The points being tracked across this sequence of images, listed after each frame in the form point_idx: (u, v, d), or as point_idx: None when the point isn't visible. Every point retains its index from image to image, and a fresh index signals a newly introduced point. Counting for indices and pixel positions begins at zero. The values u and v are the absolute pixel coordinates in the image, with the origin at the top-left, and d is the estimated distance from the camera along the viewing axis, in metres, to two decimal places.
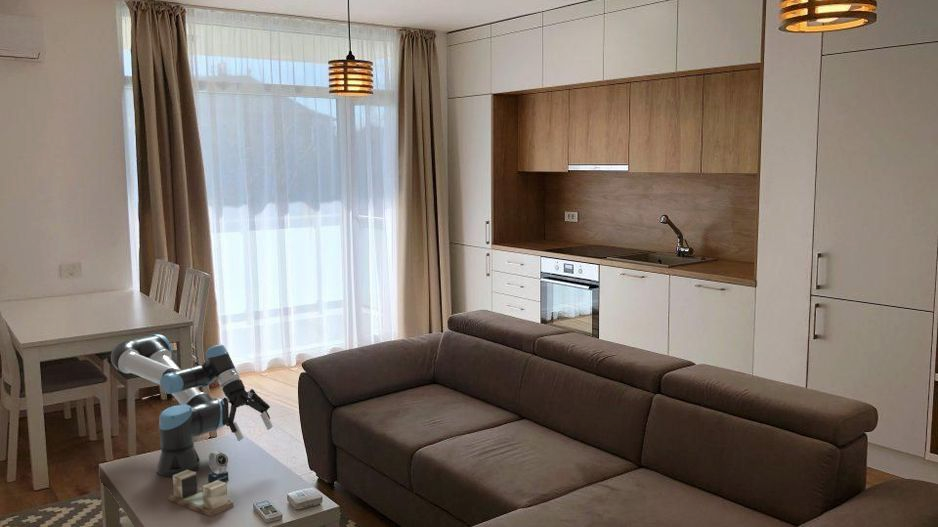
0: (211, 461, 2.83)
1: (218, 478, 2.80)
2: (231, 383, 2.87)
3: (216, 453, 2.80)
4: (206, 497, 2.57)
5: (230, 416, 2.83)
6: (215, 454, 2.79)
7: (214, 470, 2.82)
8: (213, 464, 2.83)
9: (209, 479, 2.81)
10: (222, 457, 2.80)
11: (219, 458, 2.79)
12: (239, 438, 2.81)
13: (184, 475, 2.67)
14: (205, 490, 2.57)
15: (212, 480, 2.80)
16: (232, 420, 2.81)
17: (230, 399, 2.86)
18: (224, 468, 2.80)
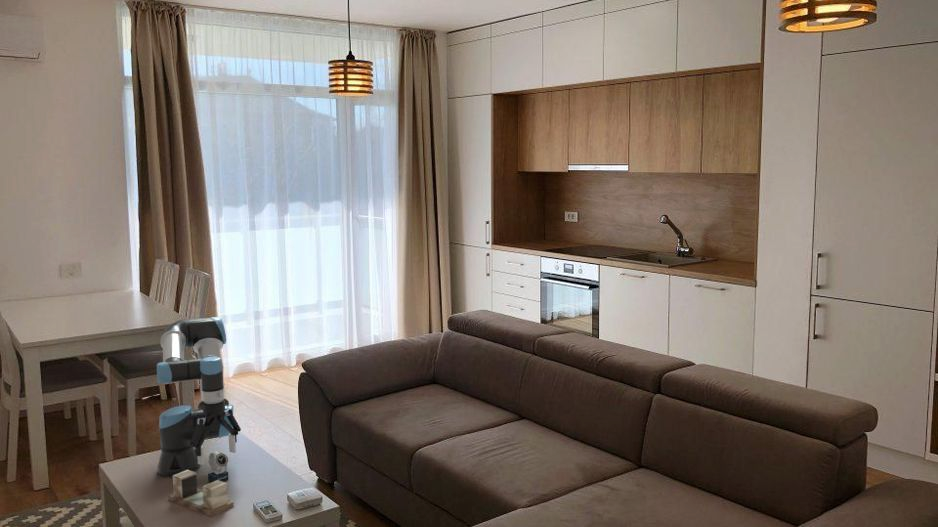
0: (211, 461, 2.83)
1: (218, 478, 2.80)
2: (214, 406, 2.75)
3: (216, 453, 2.80)
4: (206, 497, 2.57)
5: (200, 438, 2.74)
6: (215, 454, 2.79)
7: (214, 470, 2.82)
8: (213, 464, 2.83)
9: (209, 479, 2.81)
10: (222, 457, 2.80)
11: (219, 458, 2.79)
12: (200, 462, 2.75)
13: (184, 475, 2.67)
14: (205, 490, 2.57)
15: (212, 480, 2.80)
16: (200, 445, 2.73)
17: (206, 420, 2.75)
18: (224, 468, 2.80)
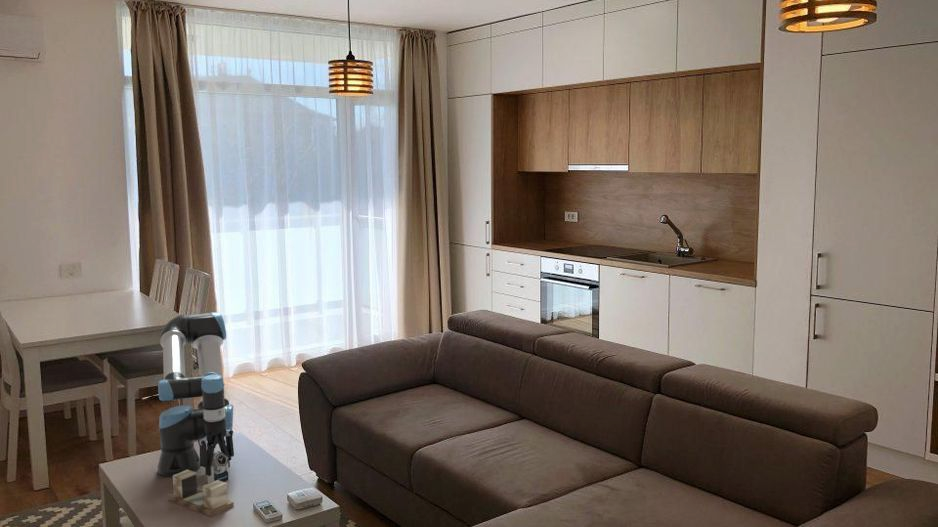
0: None
1: (218, 478, 2.80)
2: (215, 424, 2.76)
3: (216, 453, 2.80)
4: (206, 497, 2.57)
5: (207, 458, 2.78)
6: (215, 454, 2.79)
7: (214, 470, 2.82)
8: (213, 464, 2.83)
9: None
10: (222, 457, 2.80)
11: (219, 458, 2.79)
12: (210, 482, 2.79)
13: (184, 475, 2.67)
14: (205, 490, 2.57)
15: None
16: (210, 464, 2.77)
17: (207, 438, 2.76)
18: (224, 468, 2.80)
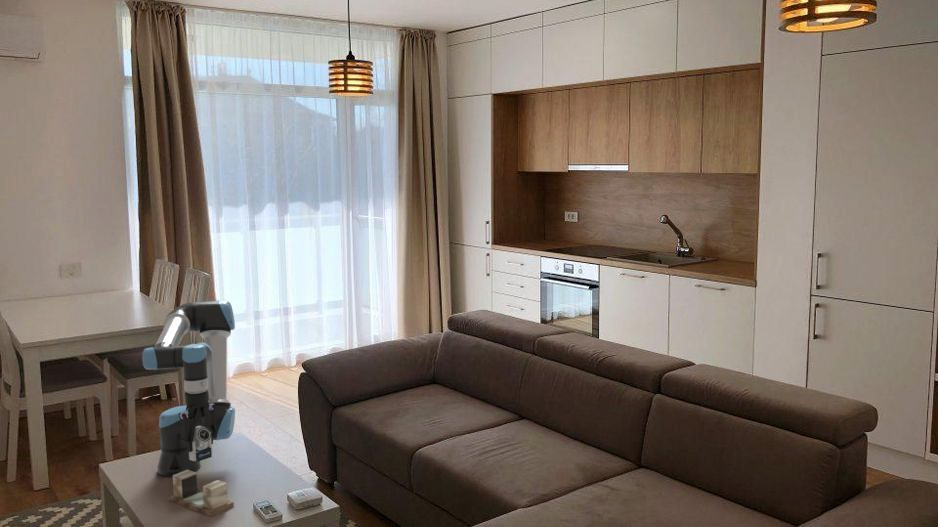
0: None
1: (201, 455, 2.62)
2: (196, 396, 2.59)
3: (198, 428, 2.63)
4: (206, 497, 2.57)
5: (189, 433, 2.60)
6: (197, 429, 2.62)
7: (196, 446, 2.65)
8: (195, 440, 2.66)
9: None
10: (204, 432, 2.62)
11: (201, 433, 2.62)
12: (191, 458, 2.62)
13: (184, 475, 2.67)
14: (205, 490, 2.57)
15: None
16: (191, 439, 2.60)
17: (189, 411, 2.59)
18: (207, 444, 2.62)
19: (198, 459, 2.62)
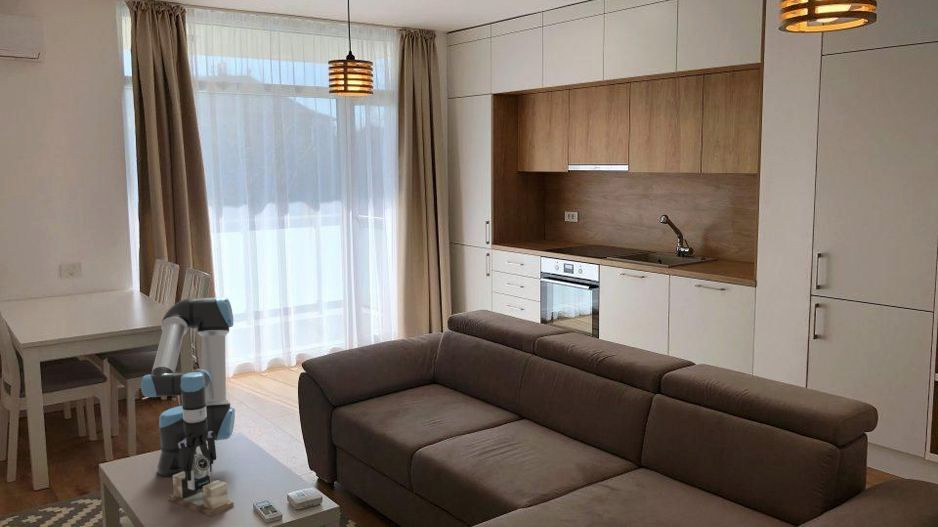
0: (192, 465, 2.64)
1: (199, 483, 2.61)
2: (195, 425, 2.57)
3: (197, 456, 2.61)
4: (206, 497, 2.57)
5: (187, 462, 2.59)
6: (196, 457, 2.61)
7: (195, 474, 2.64)
8: (194, 468, 2.64)
9: None
10: (203, 460, 2.61)
11: (200, 462, 2.60)
12: (190, 487, 2.61)
13: (184, 475, 2.67)
14: (205, 490, 2.57)
15: None
16: (190, 468, 2.59)
17: (187, 440, 2.58)
18: (205, 472, 2.61)
19: (197, 488, 2.60)
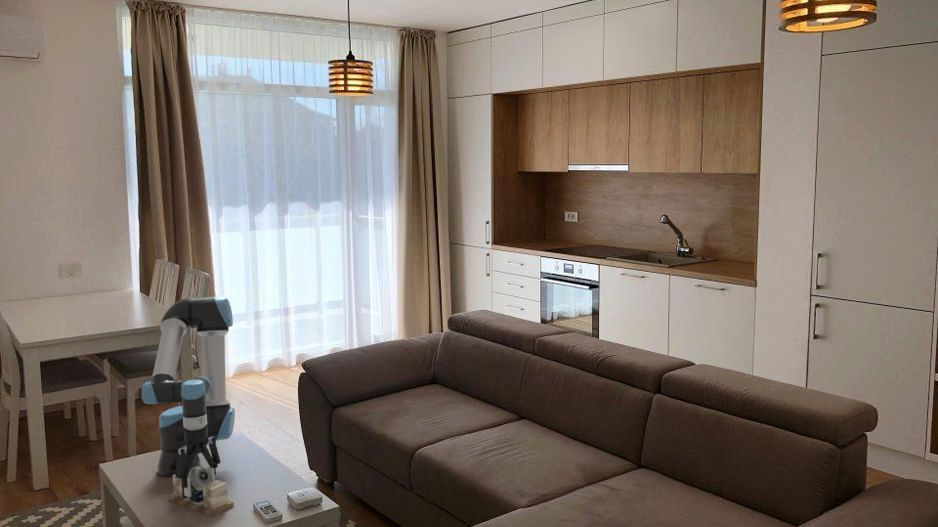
0: (192, 477, 2.65)
1: (201, 495, 2.62)
2: (195, 433, 2.57)
3: (198, 469, 2.62)
4: (206, 497, 2.57)
5: (185, 469, 2.58)
6: (196, 470, 2.61)
7: (196, 486, 2.64)
8: (195, 480, 2.65)
9: (191, 496, 2.63)
10: (204, 473, 2.62)
11: (201, 474, 2.61)
12: (186, 494, 2.60)
13: None
14: (205, 490, 2.57)
15: (194, 497, 2.62)
16: (186, 476, 2.58)
17: (188, 448, 2.58)
18: (206, 484, 2.62)
19: (198, 500, 2.61)
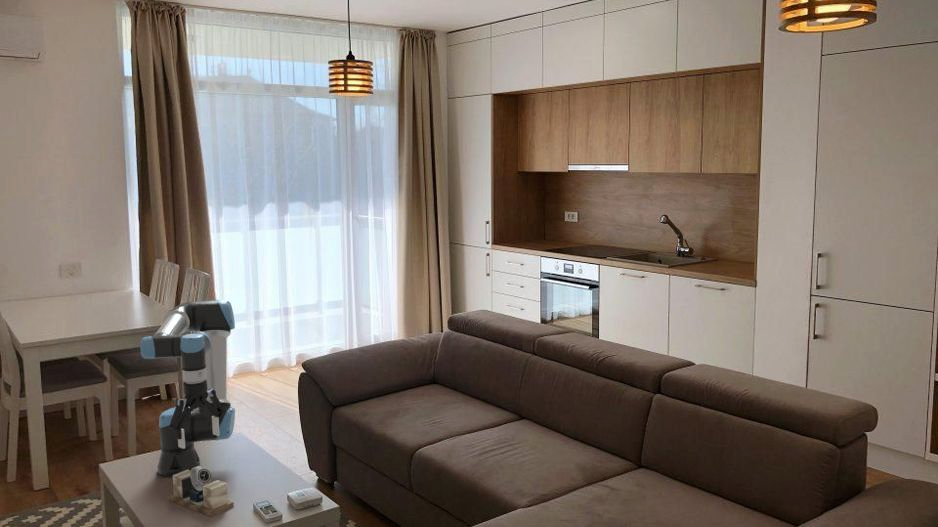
0: (193, 477, 2.65)
1: (201, 495, 2.62)
2: (195, 386, 2.57)
3: (198, 468, 2.62)
4: (206, 497, 2.57)
5: (180, 420, 2.57)
6: (197, 469, 2.62)
7: (196, 486, 2.65)
8: (195, 480, 2.65)
9: (191, 496, 2.63)
10: (204, 473, 2.62)
11: (201, 474, 2.61)
12: (180, 446, 2.58)
13: (184, 475, 2.67)
14: (205, 490, 2.57)
15: (194, 497, 2.62)
16: (180, 427, 2.56)
17: (187, 401, 2.58)
18: None
19: (198, 500, 2.61)
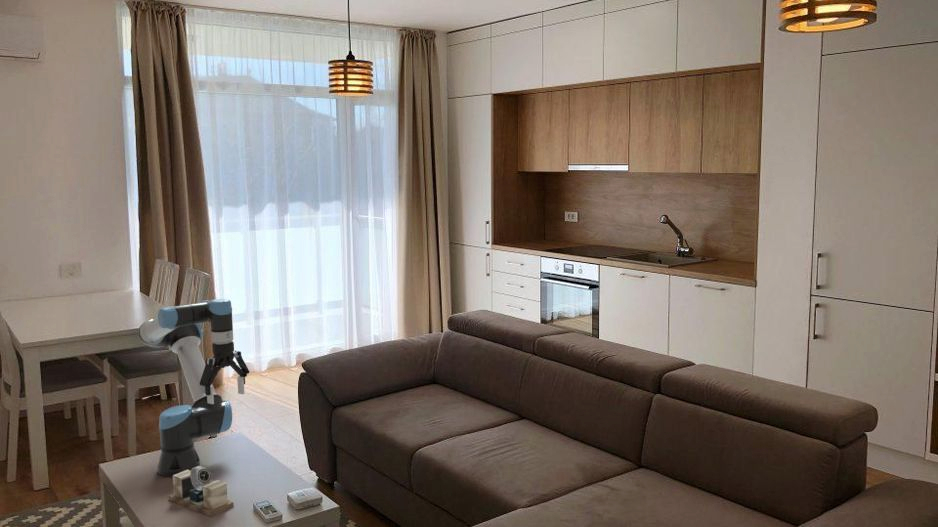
0: (193, 477, 2.65)
1: (201, 495, 2.62)
2: (223, 346, 2.79)
3: (198, 468, 2.62)
4: (206, 497, 2.57)
5: (209, 378, 2.78)
6: (197, 469, 2.62)
7: (196, 486, 2.65)
8: (195, 480, 2.65)
9: (191, 496, 2.63)
10: (204, 473, 2.62)
11: (201, 474, 2.61)
12: (209, 402, 2.79)
13: (184, 475, 2.67)
14: (205, 490, 2.57)
15: (194, 497, 2.62)
16: (210, 384, 2.77)
17: (216, 360, 2.79)
18: None
19: (198, 500, 2.61)
